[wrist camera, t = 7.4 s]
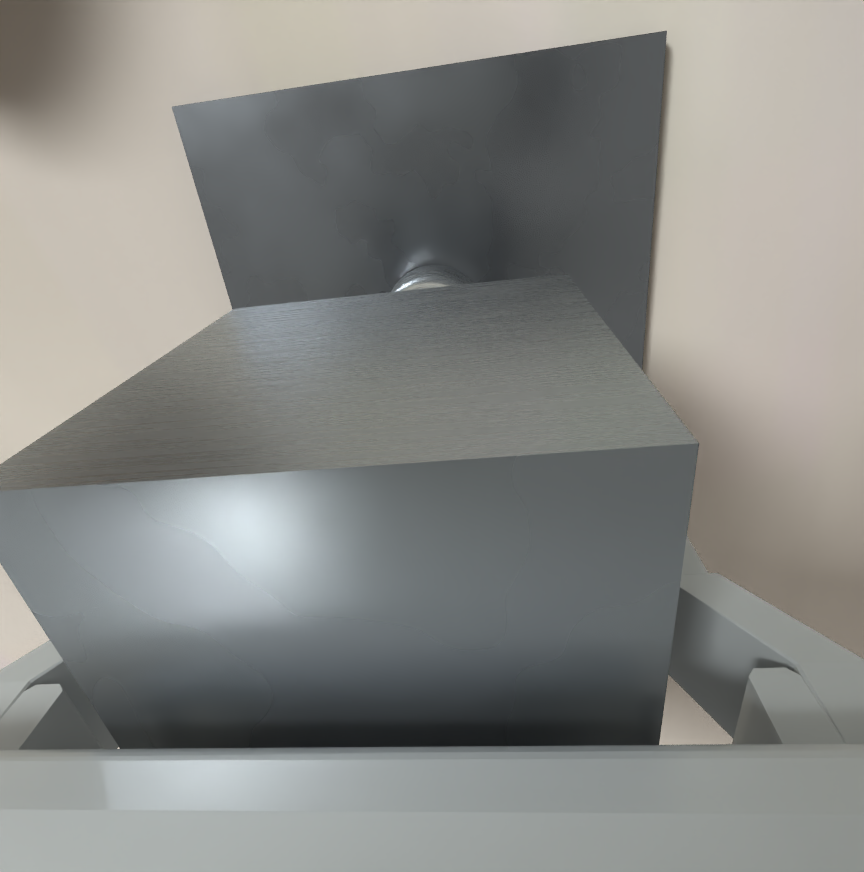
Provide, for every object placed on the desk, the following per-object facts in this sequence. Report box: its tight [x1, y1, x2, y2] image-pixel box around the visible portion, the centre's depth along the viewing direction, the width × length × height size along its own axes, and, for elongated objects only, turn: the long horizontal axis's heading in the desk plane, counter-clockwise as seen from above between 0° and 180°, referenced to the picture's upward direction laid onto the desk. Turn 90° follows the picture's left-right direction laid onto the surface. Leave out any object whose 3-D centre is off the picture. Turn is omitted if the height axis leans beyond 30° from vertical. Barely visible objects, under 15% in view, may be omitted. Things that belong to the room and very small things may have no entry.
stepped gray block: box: [0, 274, 699, 749], centre depth 9 cm, size 10×6×6 cm, turn 7°
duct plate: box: [172, 31, 667, 370], centre depth 17 cm, size 14×14×4 cm
